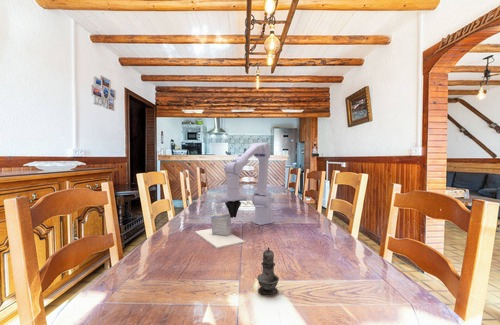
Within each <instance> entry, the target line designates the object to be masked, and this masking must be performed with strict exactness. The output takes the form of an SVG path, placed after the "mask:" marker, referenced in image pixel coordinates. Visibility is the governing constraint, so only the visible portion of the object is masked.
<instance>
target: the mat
mask: <svg viewBox="0 0 500 325" xmlns="http://www.w3.org/2000/svg"><path fill="white" fill-rule="evenodd" d="M194 233H195V234H196V235H197V236H199V237H200V238H202V239H203V240H204V241H206V242H207V243H208V244H210V245H211V246H213V247H214V248H215V249H222V248H226V247H231V246H235V245H240V244H244V243H246V241H245V240H243V239H242V238H241V237H238V236H236V235H234V234H233V233H232V232H231V233H230V234H229V235H228V236H225V235H217V234H212V228H207V229H202V230H201V229H200V230H195V231H194Z"/></svg>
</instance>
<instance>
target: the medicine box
mask: <svg viewBox="0 0 500 325" xmlns="http://www.w3.org/2000/svg"><path fill="white" fill-rule="evenodd" d="M210 219H211V229H212V234H217V235H225V236H228V235H229V234H230V233H231V234H232V219H231V215H229V213H228V214H226V213H214V214H212V215H211V217H210Z"/></svg>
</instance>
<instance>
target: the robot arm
mask: <svg viewBox="0 0 500 325" xmlns="http://www.w3.org/2000/svg"><path fill="white" fill-rule="evenodd" d="M252 157H254V158H256V159H258V170H257V172H258V173H257V187H256V189H255V190H253V194H252V197H251V203H252V205H253V207H254V220H252V221H251V222H252V223H254V224H256V225H259V226H263V225H267V224H269V225H270V224H274V220H273V219H274V218H273V217H274V216H273V215H274V214H273V213H274V211H273V207H272V206H271V205H272V202H273V200H272V199H273V198H272V193H271V191H270V190H269V189H268V188H267V187H268V176H269V175H268V173H269V172H268V171H269V159H270V158H271V146H270V144H269V142H267V141H266V142H252V143H250V144H249V146H248V149H246V151H244V152H243V153H238V155H237V156H235V158H234V159H232V161H228V162H227V163H226V164H224V165H225V166H224V167H223V170H224V173H225V178H226V197H225V196H224V197H220V198H217V203H218V204H222V203H225V206H226V208H227V211H228V215H231V218H232V219H233V218H237V214H238V211H239V208H240V207H241V205H242V202H243V201H244V202H246V201H248V196H246V195H241V196H240V175H242V172H243V169H244V167H245V166H246V165H247V164H248V163H249V159H250V158H252Z"/></svg>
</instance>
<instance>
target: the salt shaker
mask: <svg viewBox="0 0 500 325" xmlns="http://www.w3.org/2000/svg"><path fill="white" fill-rule="evenodd" d="M274 257H275V256H274V251H272V250H270V247H267V248H266V250H264V251H263V253H262V262H261V266H262V272H261V273H259V274H258V275H257V278H256V279H257V281H258V284H259V288H257V289H258V290H257V292H258V294H260V296H263V297H267V298H268V297H269V298H271V297H275V296H276V295H277V294H278V292H279V290H278V288H277V285H278V283H279V281H280V277H279V276H278V275H277V274H276V273H275V268H274V267H275V266H276V263H275V261H274V259H275V258H274Z"/></svg>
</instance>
